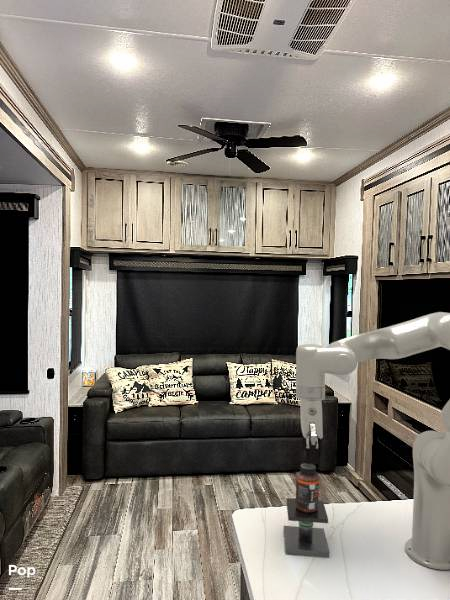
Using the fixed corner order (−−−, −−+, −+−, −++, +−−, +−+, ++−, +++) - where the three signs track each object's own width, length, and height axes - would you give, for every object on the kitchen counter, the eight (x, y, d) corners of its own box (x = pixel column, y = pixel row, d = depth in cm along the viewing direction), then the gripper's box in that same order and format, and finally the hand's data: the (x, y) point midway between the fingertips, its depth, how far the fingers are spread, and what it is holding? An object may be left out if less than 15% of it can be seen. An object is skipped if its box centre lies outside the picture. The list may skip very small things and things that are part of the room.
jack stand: (323, 533, 122) (324, 499, 122) (329, 557, 112) (330, 520, 111) (283, 530, 123) (284, 497, 123) (285, 554, 112) (286, 517, 112)
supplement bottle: (318, 515, 114) (319, 471, 114) (295, 512, 115) (296, 469, 115) (318, 504, 120) (319, 462, 119) (295, 501, 121) (297, 460, 121)
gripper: (329, 400, 107) (329, 470, 108) (320, 385, 125) (320, 445, 125) (298, 399, 108) (298, 468, 109) (293, 384, 125) (293, 444, 126)
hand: (309, 456), depth 117 cm, fingers open, 9 cm apart
